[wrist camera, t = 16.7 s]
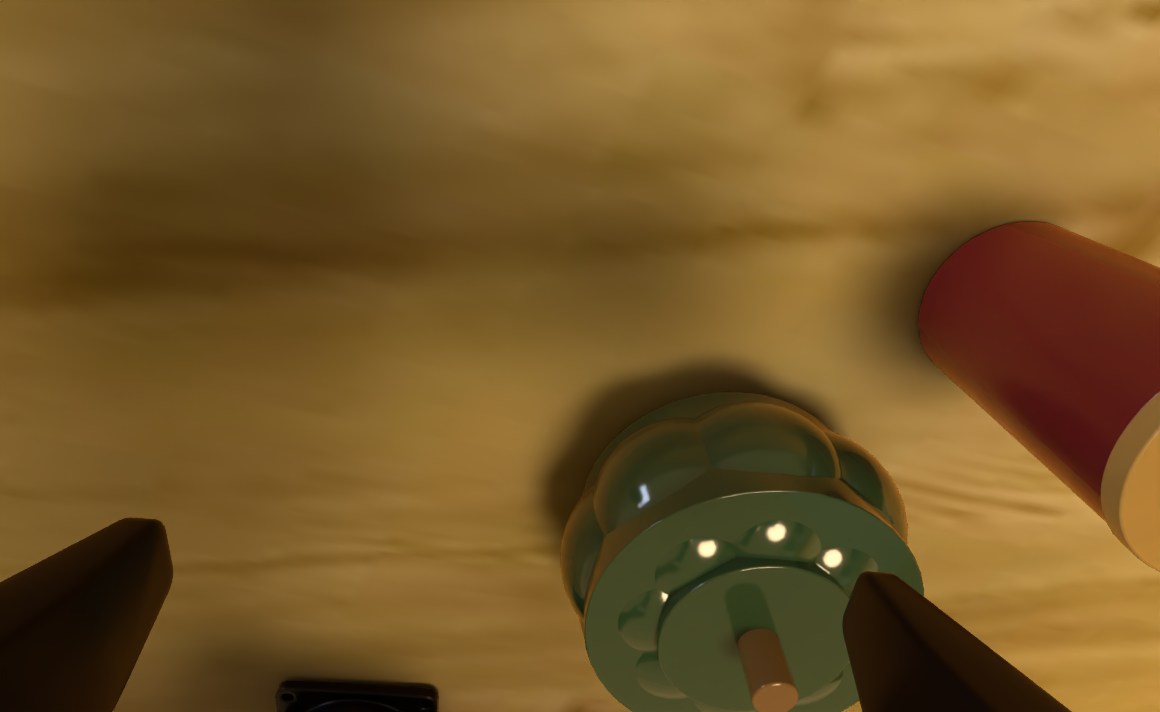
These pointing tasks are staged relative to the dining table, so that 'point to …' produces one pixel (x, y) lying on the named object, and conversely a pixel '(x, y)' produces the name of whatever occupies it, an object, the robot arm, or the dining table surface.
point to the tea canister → (1061, 361)
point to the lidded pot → (729, 557)
